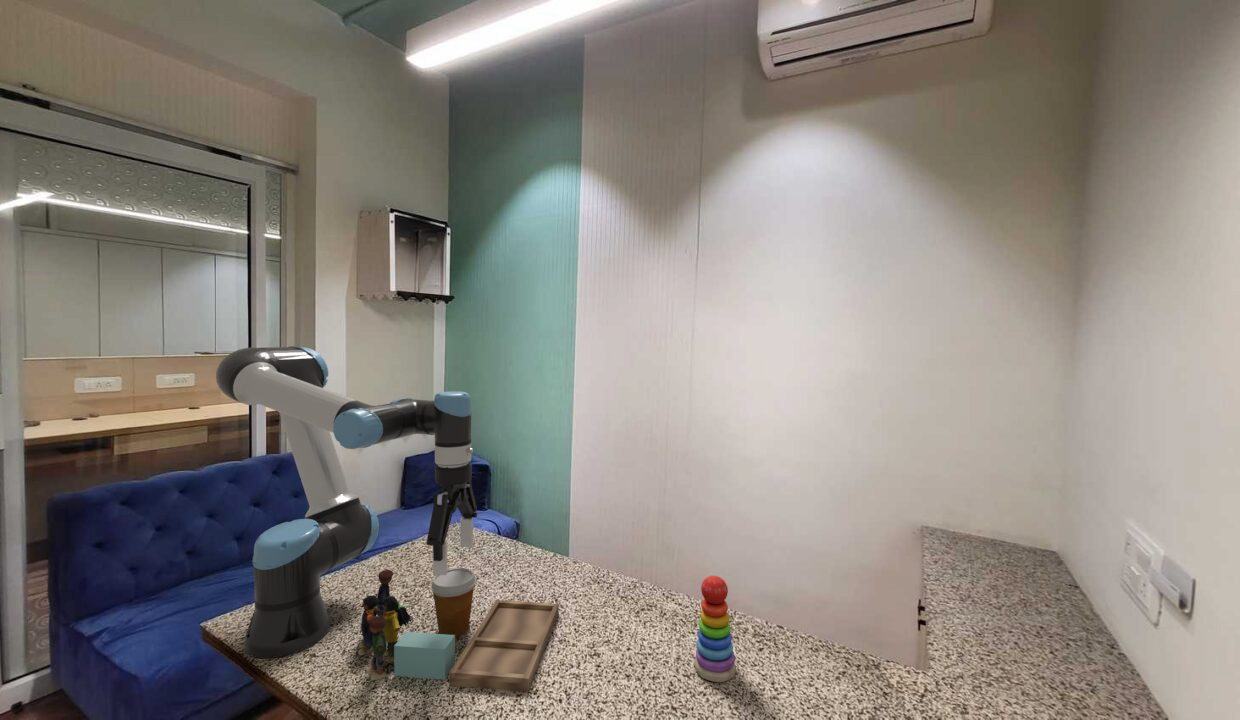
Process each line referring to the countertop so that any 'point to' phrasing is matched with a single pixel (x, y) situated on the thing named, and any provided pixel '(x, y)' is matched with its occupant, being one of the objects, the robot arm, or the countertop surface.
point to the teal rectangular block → (424, 655)
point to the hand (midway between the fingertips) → (454, 559)
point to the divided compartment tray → (506, 647)
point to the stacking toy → (714, 634)
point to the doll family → (381, 625)
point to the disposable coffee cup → (453, 600)
